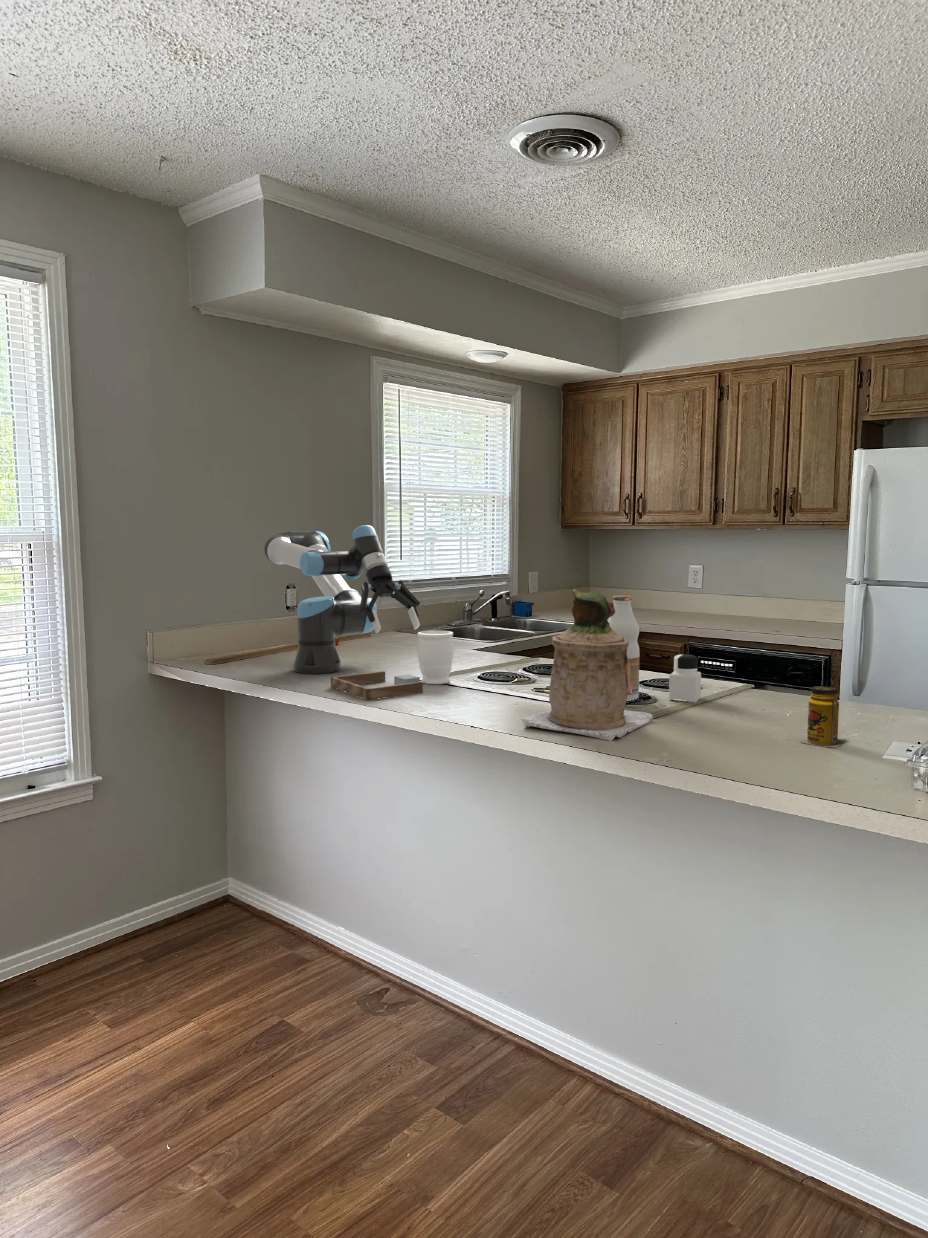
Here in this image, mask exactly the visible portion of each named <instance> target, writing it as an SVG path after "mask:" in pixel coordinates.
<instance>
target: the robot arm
mask: <svg viewBox="0 0 928 1238" xmlns="http://www.w3.org/2000/svg"><path fill="white" fill-rule="evenodd" d="M351 536H352V537H351V538H352V541H353V544H352V545H351V548H350V549H349V550H341V551H340V550H339V551H335V550H333V551H331V545H330V541H329V538H328V536H326V534H325V533H324V532H322V531H317V530H306V531H304V530H303V531H299V530H297V531H295V530H293V531H292V530H291V531H286V530H285V531H283V530H282V531H277V532H274V533H272V534H270V535H269V536H268V537H267V538H266V539H265V541H264V543H263V545H262V552H263V553H262V554H263V556H264V557H265V559H266V560H267V561H269V562H270V563H272V564H276V565H279V566H280V565H288V566H290V567H293V568H296V569H299V570H300V571H301V572H302V574H303V575H304V576H311V578H312V579H313V580H314V582H315V584H316V585H317V587H318V588H319V589H320V592H321V593H322V594H323V596H315V597H309V598H307V599H303V600H301V601H299V603H298V605H297V613H296V618H297V634H298V635H297V636H298V638H297V639H298V648H297V651H296V655H295V658H294V661H293V671H294V672H295V673H299V674H310V675H311V674H315V675H316V674H327V673H335V672H339V671H341V669H342V662H341V659H340V657H339V653H338V649H337V647H336V636H337V637H341V636H351V635H363V634H369V633H371V632H373V630H374V632H375V634H376V633H377V634H378V633H379V632H380V631H381V629H382V625H381V623H380V620H379V618H378V609H377V603H376V602H377V600H378V598H384V597H385V598H391V599H394V600H396V601H397V602H399V603H400V604H402V605H403V606H404V607H405V608H406V609H408V611H407V613H408V616H409V619H410V622H411V624H412V626H413V629H414V630H417V629H418V628H419V627H420V626H421V624H420V620H419V618H418V617H419V612H418V609H417V608H418V607H419V606H420V604H421V602H420V601H419V600H418V599H417V598H416V596H415V595H414V594H413V593H412V592H411V591H410V590H409V589H408V587H406V586H405V584H404V582H403V580H401V579H399V581H398V582H397V581H396V582H394V580H393V576H392V572H391V570H390V567H389V566H388V565H389V564H388V562H387V560H386V557H385V554H384V551H383V548H382V546H381V545H382V544H381V542H380V540H379V536H378V534H377V532H376V530H375V527H373V526H372V525H368V524H367V525H366V524H365V525H360V526H357V527H356V528H354V530H353V531H352V533H351ZM363 574H365V577H366V579H367V581H364V582H363V584H362V585H361V594H360V592H359V591H358V590H356V589H353V588H351V587H350V586H349V584H348V583H347V582H346V580H345V579H348V580H351V581H353V580H357V579H358V578H360V576H362V575H363ZM343 577H344V578H343ZM370 590H371V592H373V595H372V597H369V591H370ZM334 671H335V672H334Z"/></svg>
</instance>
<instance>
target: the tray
mask: <svg viewBox="0 0 928 1238" xmlns="http://www.w3.org/2000/svg"><path fill="white" fill-rule="evenodd" d="M382 681H384V682H386V671H385V670H382V671H380V670H379V671H373V672H372V671H371V672H364V673H356V674H346V675H339V676H330V688H331V687H333V688H332V689H334V688H337V689H339V690H342V691H346V692H347V693H346V694H348V693H350V694H349V695H351V694H353V695H352V696H354V695H355V696H354V697H356V696H359V697H362V698H364V699H363V700H365V699H367V700H366V701H370V700H369V699H375V700H379V699H378V698H382V699H384V698H383V697H389V698H395V697H394V696H396V697H402V696H410V695H417V694H422V693H423V692H424V683H423V682H422V681H420V682H414V683H407V684H399V685H394V684H393V685H386V686H385V685H384V686H377V687H376V686H375V687H371V688H370V687H365V686H363V685H367V684H366V683H368V684H372V683H371V682H376V683H382ZM357 684H360V685H357ZM337 689H336V690H337ZM339 690H338V691H339ZM342 691H341V692H342ZM359 697H358V698H359ZM362 698H361V699H362Z"/></svg>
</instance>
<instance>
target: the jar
mask: <svg viewBox="0 0 928 1238" xmlns="http://www.w3.org/2000/svg"><path fill="white" fill-rule="evenodd" d="M453 636H454V632H453V631H449V630H423V631H419V632H417V637H418V638H419V639H418V643H417V659H418V666H419V671H420V674H421V675H422V676H423V677H422V678H421V679H420V682H423V684H427V685H443V684H448V683H450V682H451V679H450V677H449V676H450V674H451V670H452V666H453V660H454V645H453V644H454V643H453V640H452V637H453Z"/></svg>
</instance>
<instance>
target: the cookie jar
mask: <svg viewBox="0 0 928 1238" xmlns="http://www.w3.org/2000/svg"><path fill="white" fill-rule="evenodd" d="M572 593H573V597H574V599H573V600H572V603H573V604H572V607H571V608H570V611H571V614H572V616H573V620H574V621H573V624H572V625H571V626H570V627H568V628H567V629H565V631H563V632H562V633H561V634H558V635H554V636H552V637H551V644H552V646H553V647H554V653H553V661H552V662H553V664H552V669H551V672H550V682H549V692H548V693H549V694H548V700H549V704H550V709H548V710H547V711H543V712H538V713H537V712H536V713H534V714H530V715H528V716H527V715H526V716H523V717H520V720H521V722H522V724H523V728H524V729H525V728H526V729H527V728H528V727H533V728H538V729H545V730H549V731H557V732H565V733H571V734H577V735H583V736H587V737H592V738H597V739H600V740H606V741H613V740H614V739H615V737H617V738H622V737H624V736H625V735H626V734H627V733H631V732H633V731H635V730H636V729H639V728H640V727H642V726H645V725H647V724H649V723H650V722H651V721H652V720H653V718H654V716H653V714H652V713H648V712H644V711H634V710H633V711H632V710H625V707H626V699H627V696H628V681H627V675H626V664H627V659H628V658H627V647H628V646H629V642H628V640H626V639H624V637H623V636H622V635H621V634H620V633H619V632H616V631H614V630H613V629H611V628H610V625H609V622H608V619H609V617H611V616H613V615H614V614H615V609H614V602H611V601H610V600H607V598H606V596H605V595H604V594H603V595H602V594H601V593H598V592H581V591H579V590H577V589H576V588H575V589H572Z"/></svg>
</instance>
